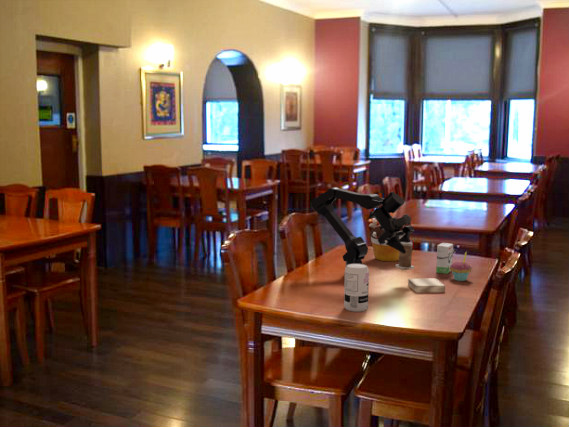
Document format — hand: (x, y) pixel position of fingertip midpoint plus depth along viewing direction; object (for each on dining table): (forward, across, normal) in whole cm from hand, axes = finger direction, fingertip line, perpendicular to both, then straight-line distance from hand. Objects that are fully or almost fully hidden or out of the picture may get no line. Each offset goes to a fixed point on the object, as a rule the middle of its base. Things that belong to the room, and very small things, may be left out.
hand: (408, 252), depth 247 cm
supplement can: (+12, -40, +7) cm, 42 cm away
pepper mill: (+4, 0, +6) cm, 7 cm away
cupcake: (+17, +23, +2) cm, 29 cm away
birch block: (+15, +1, +4) cm, 16 cm away
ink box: (+9, +31, +10) cm, 34 cm away
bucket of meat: (-12, +35, +32) cm, 49 cm away
